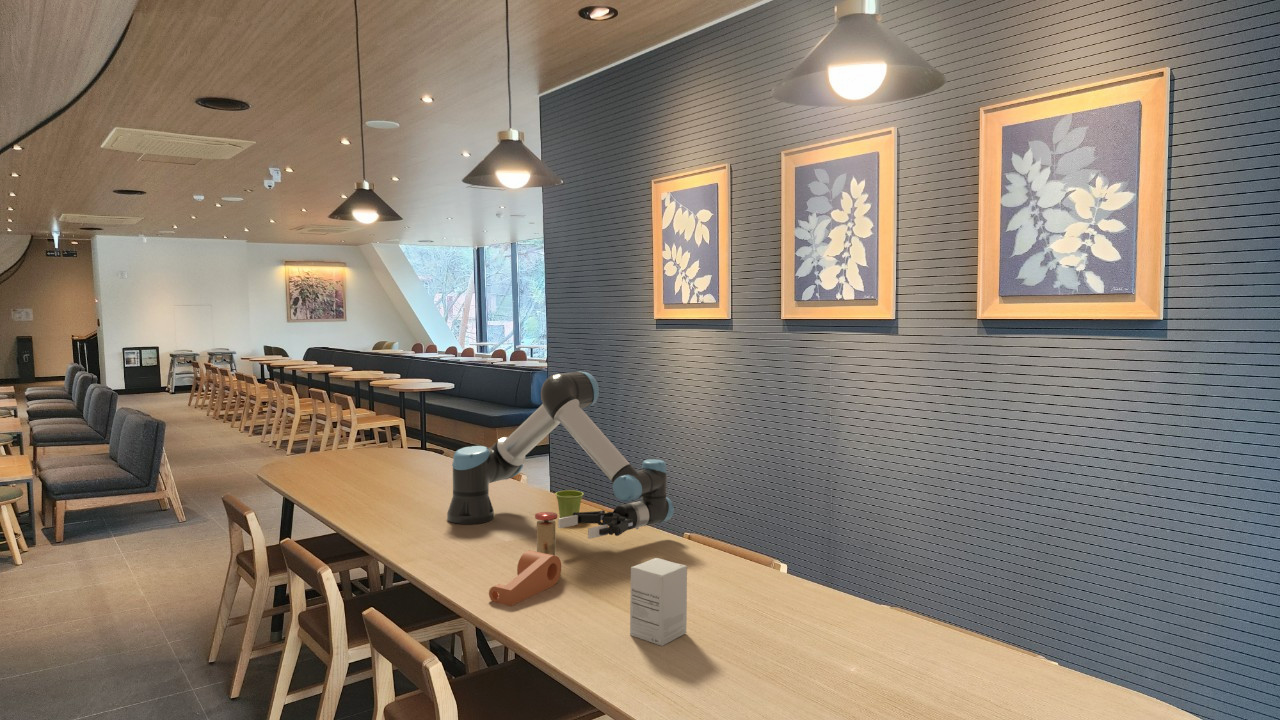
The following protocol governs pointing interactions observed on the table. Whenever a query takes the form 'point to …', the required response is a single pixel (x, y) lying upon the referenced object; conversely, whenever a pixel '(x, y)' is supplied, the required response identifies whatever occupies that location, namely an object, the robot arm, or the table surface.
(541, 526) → the valve
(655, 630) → the supplement box
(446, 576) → the table surface
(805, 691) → the table surface
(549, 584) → the orange holed part
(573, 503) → the plant pot
